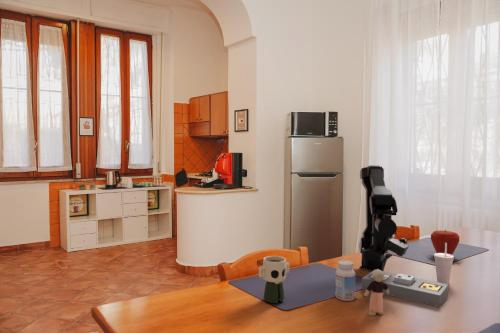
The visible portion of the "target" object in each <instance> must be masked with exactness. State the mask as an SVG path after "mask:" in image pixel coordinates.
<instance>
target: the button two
mask: <svg viewBox="0 0 500 333" xmlns="http://www.w3.org/2000/svg"><path fill="white" fill-rule="evenodd" d="M397 274H398V275H396V276H395V277H394V282H396V283H400V284H405V285H410V286H412V285H413V284H414V282H415V278H416V276H414V275H410V274H405V273H397Z"/></svg>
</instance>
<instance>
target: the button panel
mask: <svg viewBox="0 0 500 333" xmlns="http://www.w3.org/2000/svg"><path fill="white" fill-rule="evenodd" d="M372 272H373V271H372V270H371V272H369V273H368V274H366V275H365V276H364V277H362V278H361V290H364V291H366V288H367V287H368V286H369V284H370V283H371V282H372V281H375V280H374V279H373V278H372V277H370V276H372ZM383 273H384V275H388V276H390V278H388V279H387V280H382V282H384V283H385V284H386V285H387V286H388V289H389V291H390V293H389V294H387V293H386V291H385V290H384V289H383V295H388V296H391V297H396V298H399V299H404V300H408V301H412V302H416V303H422V304H426V305H431V306H433V307H441V305H442V304H443V303H444V302H445V300H446V299H447V297H448V296H449V284H444V283H439V282H437V281H434V280H429V279H428V280H427V279H423V278H418V277H415V282H414V284H413V285H412V286H410V285H405V284H400V283H396V282H394V277H395V276H396V275H398V274H399V273H393V272H390V271H389V272H388V271H385V270H384V271H383ZM424 283H427V284H432V285H437V286H441V289H440V291H439V292H438V291H433V290H429V289H424V288H420V287H421V286H422V285H423V284H424Z"/></svg>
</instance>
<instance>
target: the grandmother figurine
mask: <svg viewBox="0 0 500 333" xmlns="http://www.w3.org/2000/svg"><path fill="white" fill-rule="evenodd" d="M371 272H372V271H371ZM372 277H373V279H374V280H375V281H372V282H371V283H370V284H369V286H368V287H367V288H366V290H364V291H365V292H364V293H363V295H364V296H365V297H368V295H369V294H370V292H371V295H370V298H369V307H368V309H369V310H368V311H367V312H368V315H369V316H376V315H383V316H384V314H385V313H384V308H383V307H384V305H383V301H384V300H383V296H384V294H383V289H384V290H385V291H386V293H387V294H389V293H390V291H389V289H388V286H387V285H386V284H385V283H384V282H382V279H383V277H384V273H383V272H382V271H381V270H379V269H376V270H374V271H373V272H372ZM387 294H386V295H387Z"/></svg>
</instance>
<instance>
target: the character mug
mask: <svg viewBox="0 0 500 333" xmlns="http://www.w3.org/2000/svg"><path fill="white" fill-rule="evenodd" d="M289 273H290V262H287V258H286V257H283V256H279V255H268V256H264V257H263V258H262V266H259V267H258V278H262V279H263V280H264V281H266V282H265V284H264V285H265V286H264V291H263V292H264V293H263V299H264V300H265V301H266V302H268V303H271V304H278V303H279V300H280V303H282V302H284V301H285V291H284V290H285V289H284V285H283V282H284V281H285V280H286V278H287V274H289ZM283 300H284V301H283Z"/></svg>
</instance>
